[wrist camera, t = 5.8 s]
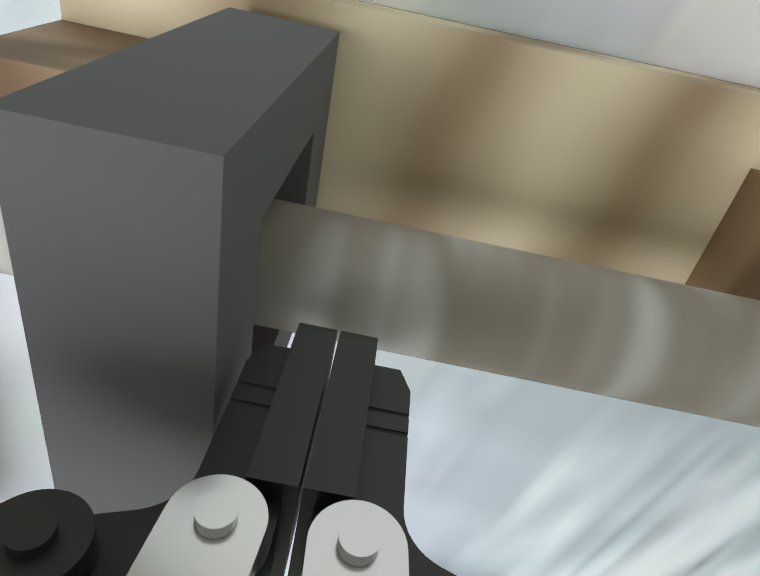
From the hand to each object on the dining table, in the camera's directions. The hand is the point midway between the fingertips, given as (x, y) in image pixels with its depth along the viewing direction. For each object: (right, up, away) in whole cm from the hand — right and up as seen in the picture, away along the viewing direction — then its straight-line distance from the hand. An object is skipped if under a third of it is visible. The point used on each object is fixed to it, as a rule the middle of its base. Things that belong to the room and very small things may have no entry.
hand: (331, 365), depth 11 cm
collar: (-2, +5, +7) cm, 9 cm away
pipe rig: (+3, +5, +9) cm, 11 cm away
